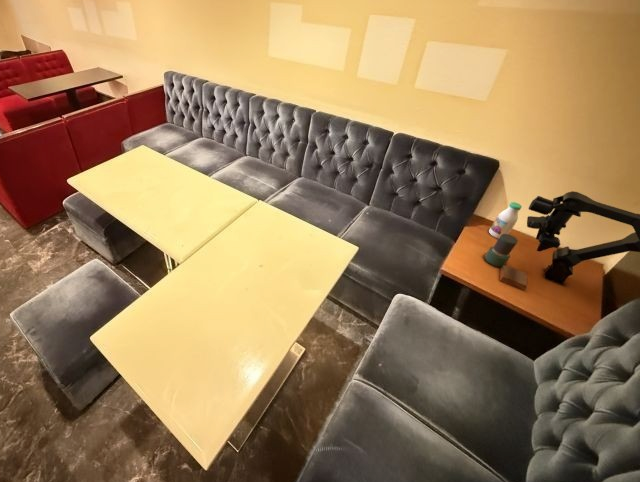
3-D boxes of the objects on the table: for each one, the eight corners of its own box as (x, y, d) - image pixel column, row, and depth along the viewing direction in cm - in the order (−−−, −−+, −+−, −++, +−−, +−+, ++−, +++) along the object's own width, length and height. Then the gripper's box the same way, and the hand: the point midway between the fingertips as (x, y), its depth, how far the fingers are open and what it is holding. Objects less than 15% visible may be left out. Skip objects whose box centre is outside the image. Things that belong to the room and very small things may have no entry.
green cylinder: (504, 259, 151) (512, 248, 146) (504, 270, 145) (512, 259, 141) (484, 252, 155) (491, 241, 150) (483, 262, 149) (490, 251, 145)
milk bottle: (502, 230, 168) (521, 201, 156) (508, 240, 161) (529, 210, 150) (486, 228, 169) (504, 198, 158) (491, 237, 163) (510, 207, 152)
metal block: (523, 277, 142) (526, 273, 140) (523, 290, 136) (527, 285, 135) (500, 268, 146) (503, 264, 144) (499, 280, 140) (503, 276, 139)
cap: (512, 252, 145) (520, 240, 140) (504, 256, 142) (512, 245, 138) (498, 243, 149) (505, 232, 145) (490, 247, 147) (497, 236, 143)
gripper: (533, 201, 142) (515, 226, 151) (535, 222, 130) (515, 249, 139) (565, 210, 137) (545, 236, 146) (570, 234, 124) (547, 260, 133)
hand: (537, 245), depth 141 cm, fingers open, 9 cm apart
